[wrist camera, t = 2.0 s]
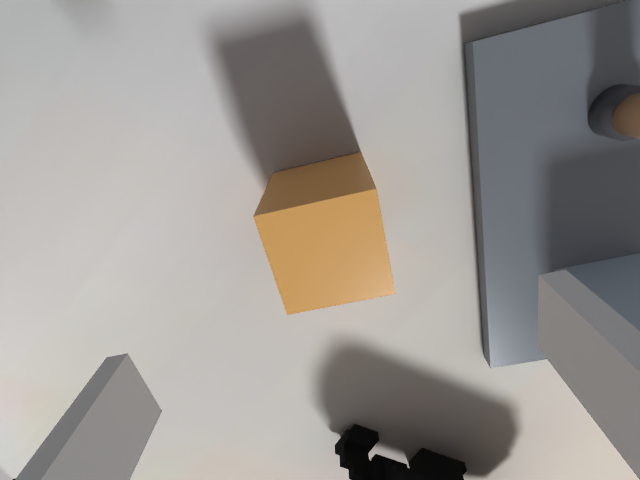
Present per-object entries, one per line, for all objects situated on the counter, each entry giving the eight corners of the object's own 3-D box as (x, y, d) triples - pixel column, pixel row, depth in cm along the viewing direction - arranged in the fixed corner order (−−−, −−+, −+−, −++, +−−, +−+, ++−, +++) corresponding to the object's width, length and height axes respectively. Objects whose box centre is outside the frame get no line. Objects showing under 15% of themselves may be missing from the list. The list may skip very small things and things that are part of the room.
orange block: (273, 172, 22) (253, 216, 16) (360, 151, 22) (376, 188, 15) (296, 250, 25) (287, 314, 18) (376, 232, 24) (395, 294, 18)
